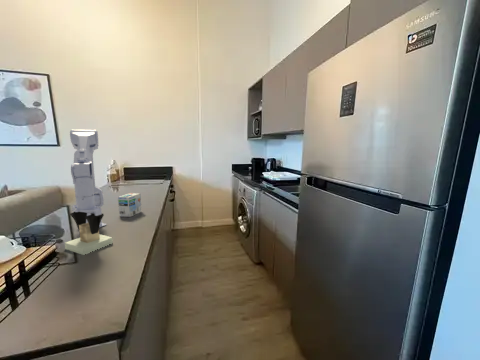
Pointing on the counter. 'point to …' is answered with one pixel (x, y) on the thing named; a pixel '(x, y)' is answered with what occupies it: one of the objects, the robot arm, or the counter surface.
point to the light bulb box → (129, 204)
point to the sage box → (88, 244)
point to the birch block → (87, 233)
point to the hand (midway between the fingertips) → (88, 231)
